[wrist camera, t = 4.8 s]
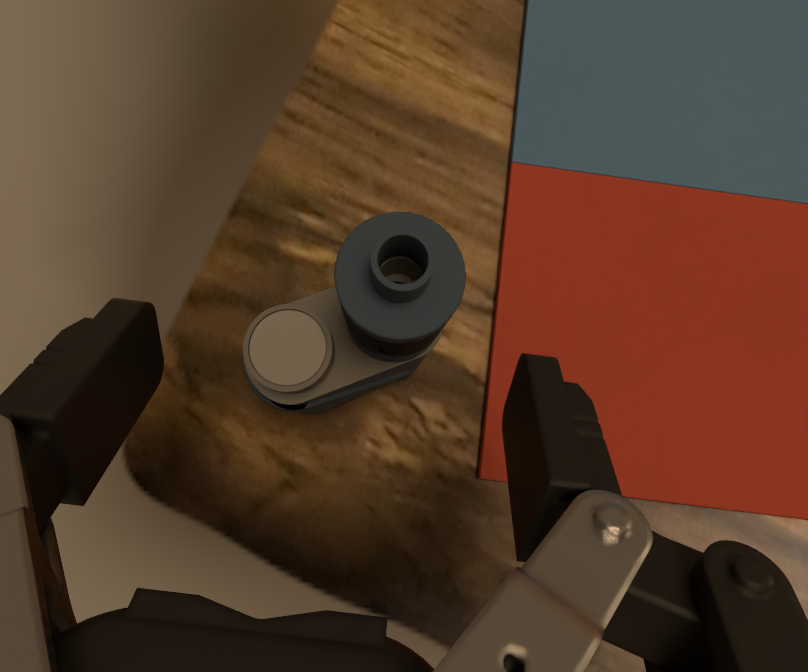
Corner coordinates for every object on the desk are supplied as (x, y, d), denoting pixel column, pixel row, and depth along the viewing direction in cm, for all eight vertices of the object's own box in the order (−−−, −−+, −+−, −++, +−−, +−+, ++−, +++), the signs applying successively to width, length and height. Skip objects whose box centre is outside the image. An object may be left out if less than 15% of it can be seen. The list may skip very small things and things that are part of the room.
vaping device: (431, 371, 21) (505, 306, 9) (297, 423, 20) (186, 427, 8) (406, 307, 21) (445, 163, 9) (273, 357, 21) (134, 270, 9)
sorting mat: (476, 477, 20) (479, 479, 20) (535, -95, 24) (538, -107, 24) (878, 527, 21) (890, 530, 20) (875, -43, 24) (885, -53, 24)
